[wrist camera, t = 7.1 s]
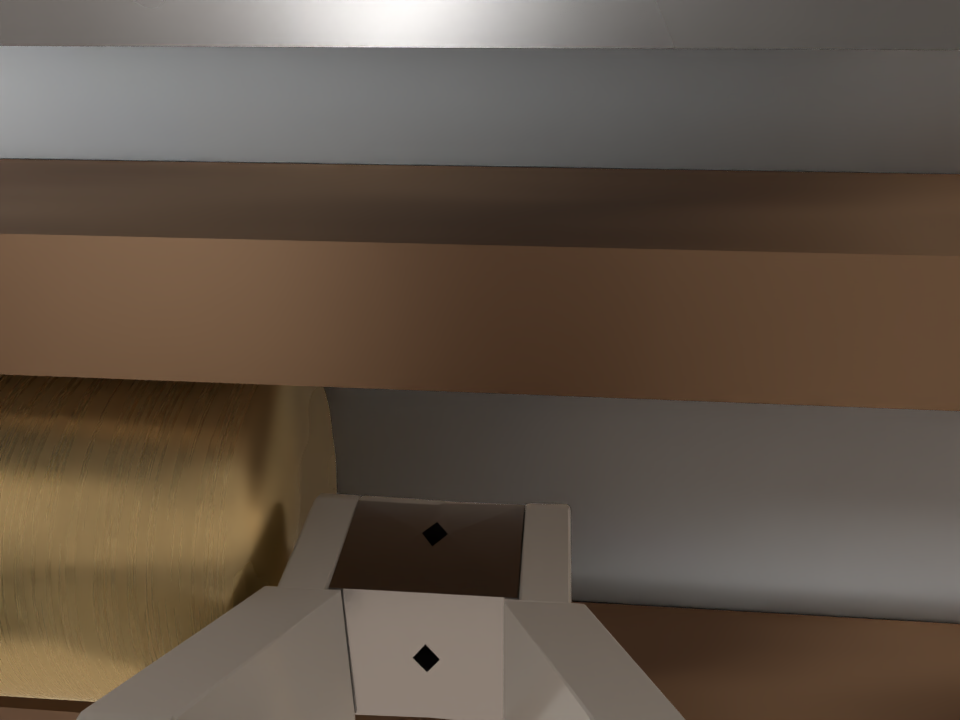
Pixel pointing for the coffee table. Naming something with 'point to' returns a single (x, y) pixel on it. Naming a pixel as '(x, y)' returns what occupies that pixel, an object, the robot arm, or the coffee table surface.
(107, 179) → the copper channel
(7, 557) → the brass rod
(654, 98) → the coffee table surface
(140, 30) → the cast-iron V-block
